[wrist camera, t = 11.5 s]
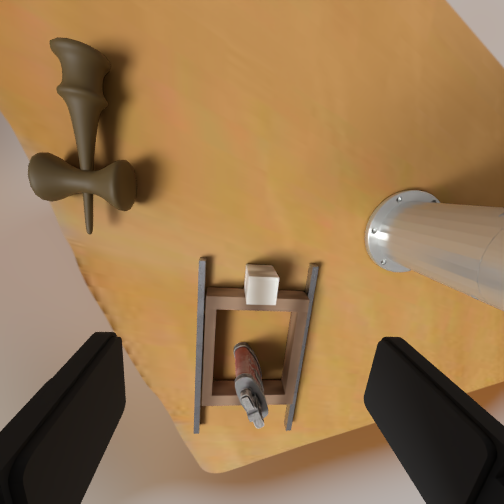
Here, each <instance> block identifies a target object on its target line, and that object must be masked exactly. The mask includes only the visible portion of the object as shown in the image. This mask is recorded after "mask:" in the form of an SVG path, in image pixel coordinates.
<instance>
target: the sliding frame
mask: <svg viewBox="0 0 504 504" xmlns="http://www.w3.org/2000/svg"><path fill="white" fill-rule="evenodd" d="M278 284H279V276H278V275H277V273H276V271H275V269H274V268H273V266H272V265H253V264H246V271H245V283H244V289H239V288H214V287H208V289H207V294H206V310H205V335H204V360H203V384H202V406H226V405H242V404H241V403H240V400H239V398H238V396H237V393H236V389H235V381H213V368H214V350H215V331H216V313H217V309H220V310H254V311H288V312H291V317H290V323H289V330H288V337H287V344H286V351H285V358H284V364H283V371H282V378H281V380H262V383H263V387H264V395H265V398H266V402H267V405H279V404H292V403H293V397H294V391H295V385H296V379H297V373H298V367H299V361H300V356H301V350H302V344H303V338H304V332H305V326H306V320H307V314H308V308H309V302H310V299H309V298H308V297H307V295H306V294H305V293H304V291H288V290H278Z"/></svg>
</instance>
